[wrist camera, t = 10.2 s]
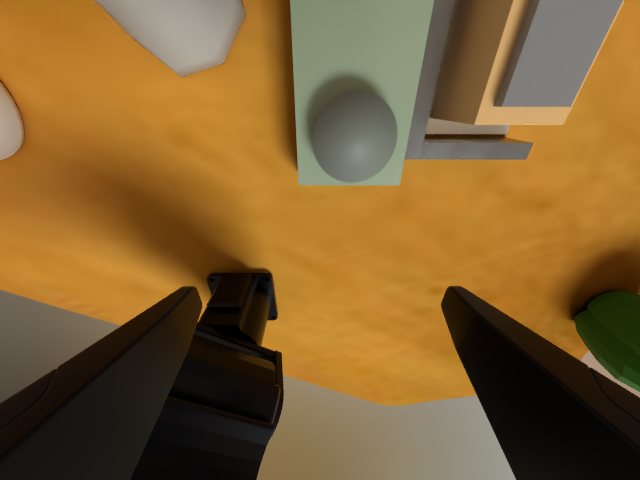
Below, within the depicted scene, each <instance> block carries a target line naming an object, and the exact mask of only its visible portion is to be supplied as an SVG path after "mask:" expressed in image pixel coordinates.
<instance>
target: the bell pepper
mask: <svg viewBox="0 0 640 480" xmlns="http://www.w3.org/2000/svg"><path fill="white" fill-rule="evenodd" d="M574 319H575V324H576V330H577V332H578V334H579V335H580V337H581V338H582V340H583V342H584V343H585V345H586V346H587V347H588V349H589V350H590V351H591V353H592V354H593V355H594V357H595V358H596V360H597V361H598V362H599V363H600V364H601V365H602V366H603V367H604V368H605V369H606V370H607V371H608V372H609V373H610V374H611V375H612V376H613V377H615V378H616V379H617V380H619V381H621V382H623V383H624V384H626V385H628V386H630V387H632V388H634V389H636V390H637V391H639V392H640V295H639V294H636V293H630V292H625V291H618V292H608V293H605V294H602V295H599V296H597V297H596V298H594V299H593V300H592V301H591V302H590V303H589V304H588V305H587V310H585V311H583V312H581V313H579V314H577V315H576V316H575V317H574Z"/></svg>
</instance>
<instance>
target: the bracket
mask: <svg viewBox="0 0 640 480" xmlns="http://www.w3.org/2000/svg"><path fill="white" fill-rule="evenodd" d="M458 2H459V0H434V4H433V9H432V14H431V20H430V25H429V30H428V36H427V41H426V46H425V52H424V57H423V62H422V68H421V73H420V78H419V84H418V89H417V94H416V100H415V105H414V110H413V116H412V121H411V126H410V132H409V137H408V142H407V148H406V153H405V158H404V159H526V158H527V156H528V154H529V152H530V149H531V147H532V145H533V143H530V142H525V141H520V140H515V139H510V138H454V137H425V134H507V132H508V129H509V127H510V125H472V124H465V123H459V122H453V121H446V120H440V119H434V118H432V117H433V113H434V109H435V104H436V100H437V95H438V91H439V86H440V82H441V78H442V73H443V69H444V64H445V60H446V56H447V51H448V47H449V42H450V38H451V33H452V29H453V25H454V20H455V16H456V11H457V7H458Z"/></svg>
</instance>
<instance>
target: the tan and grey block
mask: <svg viewBox="0 0 640 480" xmlns="http://www.w3.org/2000/svg"><path fill="white" fill-rule="evenodd" d="M624 1H625V0H459V2H458V7H457V11H456V16H455V20H454V25H453V29H452V33H451V38H450V42H449V47H448V51H447V56H446V60H445V64H444V69H443V73H442V78H441V82H440V86H439V91H438V95H437V100H436V104H435V109H434V113H433V117H432V118H434V119H440V120H446V121H453V122H459V123H465V124H472V125H563V124H564V122H565V120H566V118H567V116H568V114H569V112H570V110H571V108H572V106H573V104H574V102H575V100H576V98H577V96H578V94H579V92H580V90H581V88H582V86H583V84H584V82H585V80H586V78H587V76H588V74H589V72H590V70H591V68H592V66H593V64H594V62H595V60H596V58H597V56H598V54H599V52H600V50H601V48H602V46H603V44H604V42H605V40H606V38H607V36H608V33H609V31H610V29H611V27H612V25H613V23H614V21H615V19H616V17H617V15H618V13H619V11H620V9H621V7H622V5H623V3H624Z"/></svg>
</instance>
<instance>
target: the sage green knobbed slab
mask: <svg viewBox="0 0 640 480" xmlns="http://www.w3.org/2000/svg"><path fill="white" fill-rule="evenodd" d="M433 4H434V0H290V10H291V32H292V53H293V75H294V96H295V118H296V139H297V161H298V182H299V185H400V180H401V174H402V169H403V164H404V158H405V153H406V148H407V142H408V137H409V132H410V126H411V121H412V116H413V110H414V105H415V100H416V94H417V89H418V84H419V78H420V73H421V68H422V62H423V57H424V52H425V46H426V41H427V36H428V30H429V25H430V20H431V14H432V9H433Z"/></svg>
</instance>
